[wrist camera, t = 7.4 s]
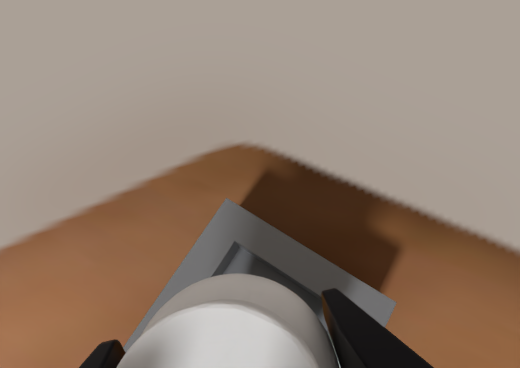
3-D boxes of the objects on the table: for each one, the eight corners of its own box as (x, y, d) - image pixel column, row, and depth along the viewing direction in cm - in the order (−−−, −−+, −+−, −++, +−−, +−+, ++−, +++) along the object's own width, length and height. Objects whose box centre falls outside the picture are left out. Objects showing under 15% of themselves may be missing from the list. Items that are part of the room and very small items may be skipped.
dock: (287, 478, 16) (290, 526, 13) (136, 357, 18) (106, 372, 15) (374, 300, 18) (396, 302, 15) (234, 213, 21) (226, 198, 17)
